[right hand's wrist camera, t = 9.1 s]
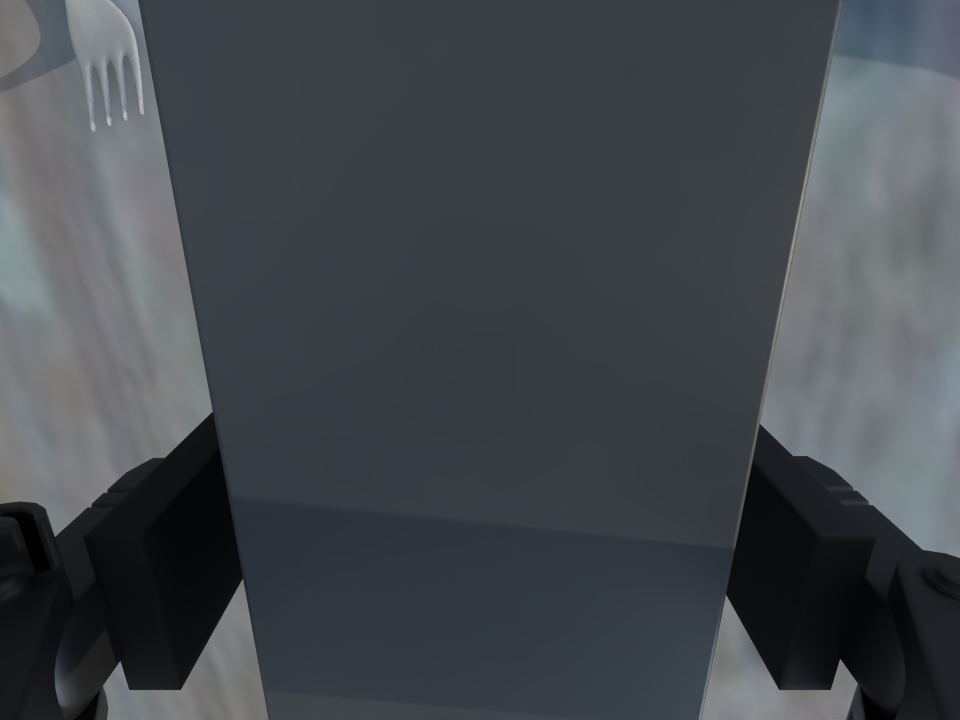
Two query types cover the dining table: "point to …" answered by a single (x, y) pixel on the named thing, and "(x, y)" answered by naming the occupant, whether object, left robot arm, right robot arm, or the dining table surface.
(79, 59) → the fork
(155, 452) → the dining table surface
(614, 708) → the bar
